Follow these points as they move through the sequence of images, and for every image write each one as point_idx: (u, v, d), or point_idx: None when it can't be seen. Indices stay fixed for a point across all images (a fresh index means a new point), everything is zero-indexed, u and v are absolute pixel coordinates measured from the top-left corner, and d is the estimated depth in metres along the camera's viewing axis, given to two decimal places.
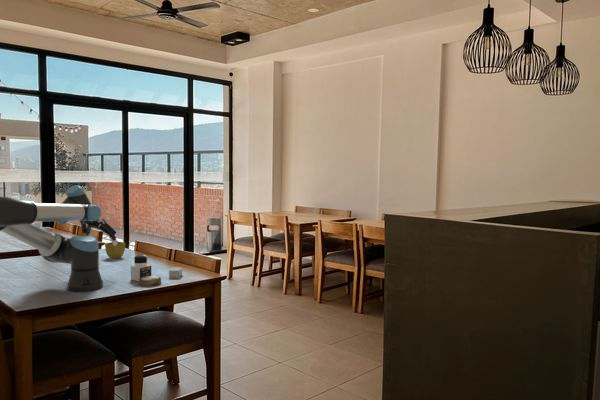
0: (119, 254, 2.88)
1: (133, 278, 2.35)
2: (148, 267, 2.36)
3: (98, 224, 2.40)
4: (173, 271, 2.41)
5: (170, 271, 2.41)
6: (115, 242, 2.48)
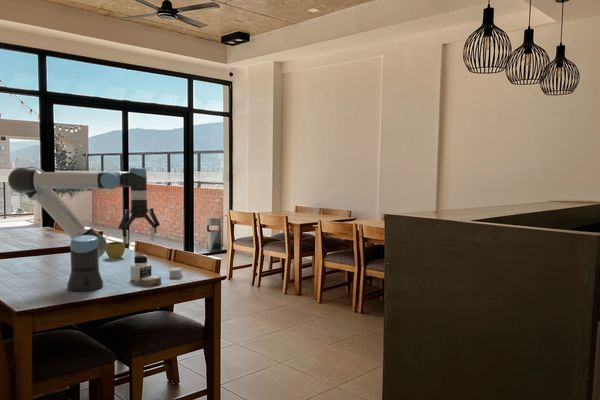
0: (119, 254, 2.88)
1: (133, 278, 2.35)
2: (148, 267, 2.36)
3: None
4: (173, 271, 2.41)
5: (170, 271, 2.41)
6: (125, 240, 2.31)
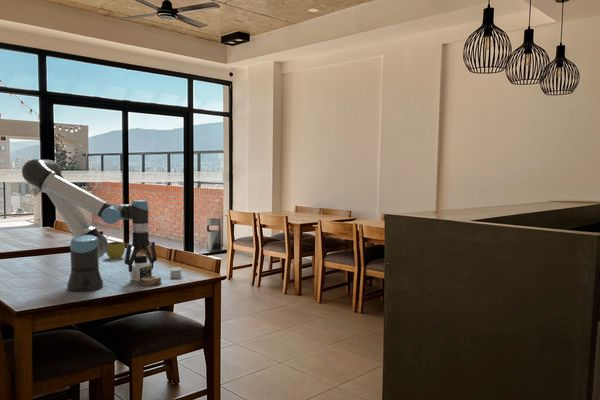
0: (119, 254, 2.88)
1: None
2: (148, 267, 2.36)
3: None
4: (174, 271, 2.41)
5: (171, 271, 2.40)
6: (131, 275, 2.34)
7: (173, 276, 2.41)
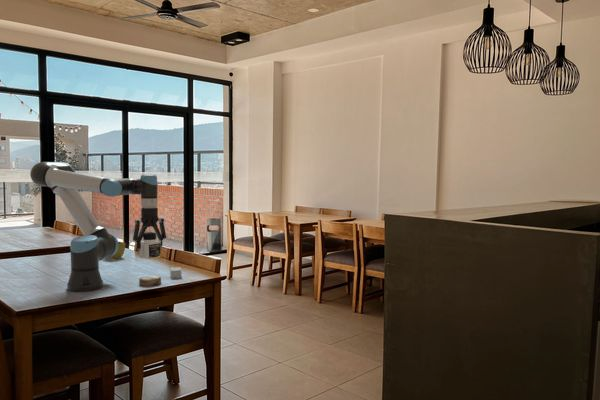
0: (119, 254, 2.88)
1: None
2: (157, 244, 2.27)
3: None
4: (175, 271, 2.41)
5: (172, 271, 2.40)
6: (140, 252, 2.25)
7: (174, 276, 2.41)
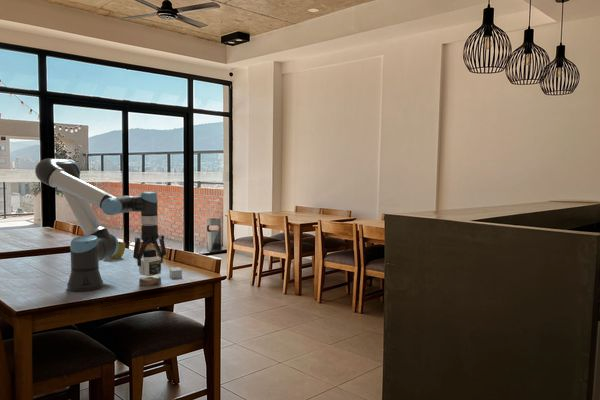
0: (119, 254, 2.88)
1: (142, 273, 2.27)
2: (157, 261, 2.28)
3: None
4: (176, 271, 2.41)
5: (173, 271, 2.40)
6: (140, 270, 2.26)
7: (174, 276, 2.41)
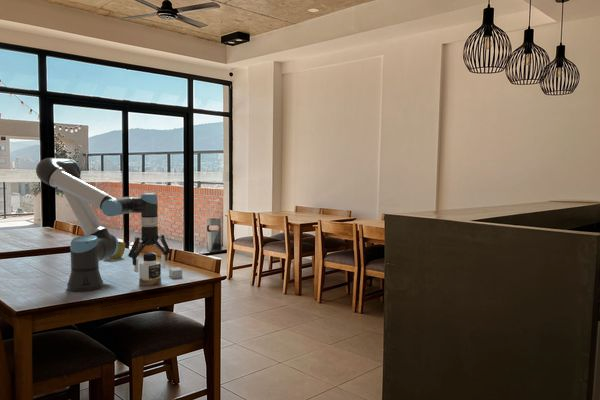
0: (119, 254, 2.88)
1: (142, 276, 2.27)
2: (157, 265, 2.28)
3: None
4: (176, 271, 2.41)
5: (173, 271, 2.40)
6: (135, 268, 2.24)
7: (175, 276, 2.41)
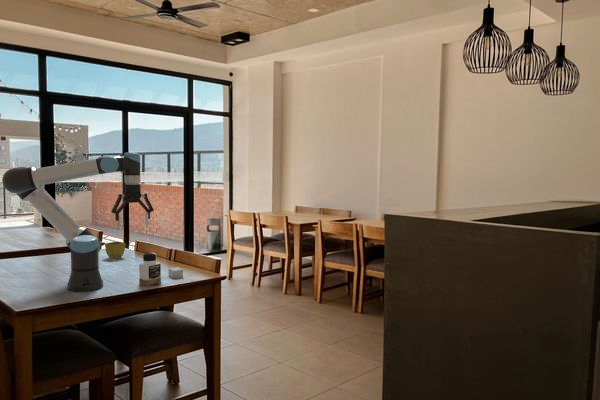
0: (119, 254, 2.88)
1: (142, 276, 2.27)
2: (157, 265, 2.28)
3: None
4: (177, 271, 2.41)
5: (174, 271, 2.40)
6: (118, 224, 2.34)
7: (176, 276, 2.41)
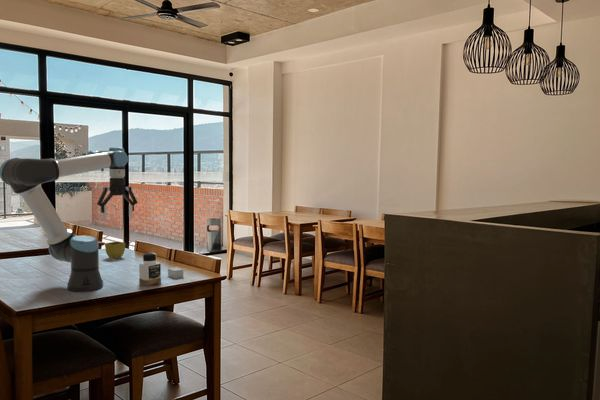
0: (119, 254, 2.88)
1: (142, 276, 2.27)
2: (157, 265, 2.28)
3: None
4: (178, 271, 2.41)
5: (175, 271, 2.40)
6: (103, 216, 2.44)
7: (177, 276, 2.41)
